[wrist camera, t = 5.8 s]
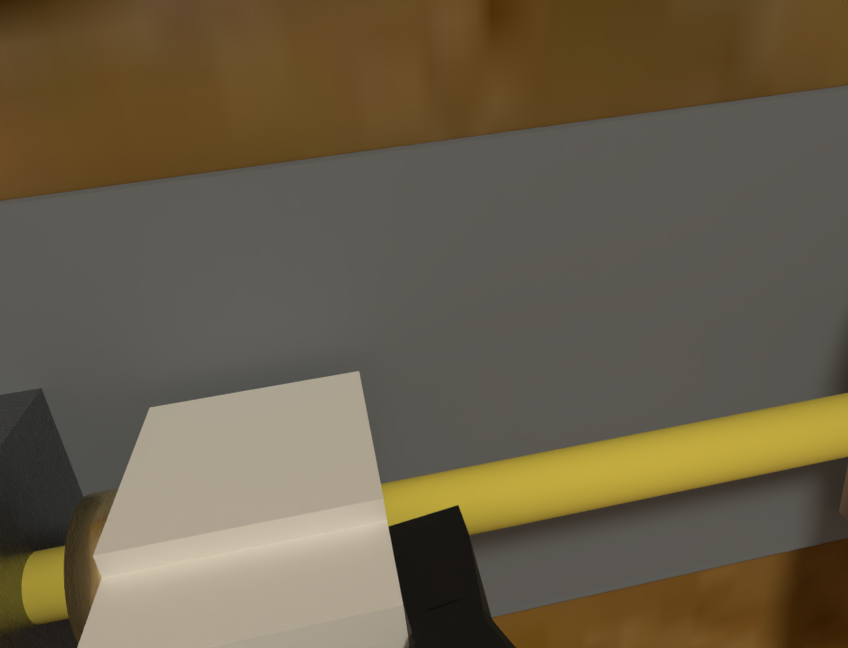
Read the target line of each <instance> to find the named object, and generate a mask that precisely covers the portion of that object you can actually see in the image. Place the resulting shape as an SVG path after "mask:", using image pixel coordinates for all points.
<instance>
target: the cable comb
mask: <svg viewBox="0 0 848 648" xmlns="http://www.w3.org/2000/svg"><path fill="white" fill-rule="evenodd" d="M839 513H840V514H841V515H842V516H843V517H845V518H846V519H847V520H848V466H847V472H846V477H845V482H844V487H843V493H842V498H841V503H840V508H839Z"/></svg>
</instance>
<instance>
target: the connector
mask: <svg viewBox="0 0 848 648" xmlns="http://www.w3.org/2000/svg"><path fill="white" fill-rule="evenodd" d="M118 489H119V488H116V489H111V490H106V491H100V492H95V493H90V494H88V495H86V496H84V497H83V494H82V491H81V489H80V486H79V484H78V481H77V479H76V476H75V473H74V471H73V468H72V466H71V463H70V460H69V458H68V455H67V453H66V450H65V448H64V445H63V442H62V440H61V437H60V435H59V432H58V430H57V427H56V424H55V422H54V419H53V417H52V414H51V412H50V409H49V406H48V404H47V401H46V399H45V396H44V394H43V391H42V388H39V389H33V390H27V391H21V392H15V393H9V394H3V395H0V648H77V647H78V644H79V641H80V638H81V636H82V633H83V630H84V627H85V624H86V621H87V619H88V616H89V613H90V610H91V607H92V604H93V601H94V599H95V596H96V593H97V590H98V587H99V584H100V581H101V579H102V578H101V575H100V572H99V570H98V567H97V565H96V562H95V560H94V557H93V554H94V552H95V549H96V546H97V544H98V541H99V539H100V536H101V533H102V531H103V528H104V526H105V523H106V520H107V518H108V515H109V512H110V510H111V507H112V505H113V502H114V499H115V497H116V494H117V492H118ZM59 546H65V552H64V590H65V599H66V606H67V612H68V616H69V618H68V619H64V620H59V621H54V622H49V623H44V624H39V625H38V624H34V623H33V622H32V621H31V620H30V619H29V618H28V616H27V614H26V611H25V608H24V605H23V600H22V576H23V571H24V567H25V564H26V562H27V560H28V558H29V557H30V555H31V554H32V553H33V552H35V551H39V550H44V549H49V548H54V547H59Z"/></svg>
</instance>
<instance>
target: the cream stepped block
mask: <svg viewBox="0 0 848 648" xmlns="http://www.w3.org/2000/svg"><path fill="white" fill-rule="evenodd" d="M93 557H94V560H95V562H96V565H97V567H98V570H99V572H100V575H101V578H102V579H101V581H100V584H99V587H98V590H97V593H96V596H95V599H94V601H93V604H92V607H91V610H90V613H89V616H88V619H87V621H86V624H85V627H84V630H83V633H82V636H81V638H80V641H79V644H78V647H77V648H409V638H408V632H407V626H406V619H405V613H404V607H403V601H402V596H401V591H400V585H399V580H398V575H397V570H396V564H395V559H394V554H393V549H392V543H391V538H390V533H389V528H388V522H387V517H386V510H385V504H384V498H383V493H382V488H381V482H380V477H379V472H378V467H377V462H376V456H375V451H374V446H373V441H372V436H371V430H370V425H369V420H368V415H367V409H366V404H365V399H364V394H363V389H362V383H361V378H360V373H359V371H356V372H350V373H344V374H339V375H333V376H327V377H322V378H316V379H310V380H304V381H299V382H293V383H287V384H281V385H276V386H270V387H264V388H259V389H253V390H247V391H241V392H236V393H230V394H224V395H218V396H213V397H207V398H201V399H196V400H190V401H184V402H178V403H173V404H167V405H161V406H156V407H150V408H149V411H148V413H147V416H146V418H145V421H144V424H143V426H142V429H141V431H140V434H139V437H138V439H137V442H136V445H135V447H134V450H133V452H132V455H131V458H130V460H129V463H128V465H127V468H126V471H125V473H124V476H123V478H122V481H121V484H120V486H119V489H118V492H117V494H116V497H115V499H114V502H113V505H112V507H111V510H110V512H109V515H108V518H107V520H106V523H105V526H104V528H103V531H102V533H101V536H100V539H99V541H98V544H97V546H96V549H95V552H94V554H93Z"/></svg>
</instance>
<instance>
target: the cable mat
mask: <svg viewBox="0 0 848 648" xmlns="http://www.w3.org/2000/svg"><path fill="white" fill-rule="evenodd" d="M356 371H359V373H360V378H361V383H362V389H363V394H364V399H365V404H366V409H367V415H368V420H369V425H370V430H371V436H372V441H373V446H374V451H375V456H376V462H377V467H378V472H379V477H380V482H381V484H382V483H387V482H392V481H398V480H403V479H408V478H413V477H418V476H423V475H428V474H433V473H439V472H444V471H449V470H454V469H459V468H464V467H469V466H474V465H480V464H485V463H490V462H495V461H500V460H505V459H510V458H515V457H521V456H526V455H531V454H536V453H541V452H546V451H551V450H556V449H562V448H567V447H572V446H577V445H582V444H587V443H592V442H597V441H603V440H608V439H613V438H618V437H623V436H628V435H633V434H638V433H644V432H649V431H654V430H659V429H664V428H669V427H674V426H679V425H685V424H690V423H695V422H700V421H705V420H710V419H715V418H720V417H726V416H731V415H736V414H741V413H746V412H751V411H756V410H761V409H767V408H772V407H777V406H782V405H787V404H792V403H797V402H802V401H808V400H813V399H818V398H823V397H828V396H833V395H838V394H843V393H848V86H840V87H833V88H826V89H818V90H811V91H804V92H796V93H789V94H782V95H774V96H767V97H760V98H752V99H745V100H738V101H730V102H723V103H716V104H708V105H701V106H694V107H686V108H679V109H672V110H664V111H657V112H650V113H642V114H635V115H628V116H620V117H613V118H606V119H598V120H591V121H584V122H576V123H569V124H562V125H554V126H547V127H540V128H532V129H525V130H518V131H510V132H503V133H496V134H488V135H481V136H474V137H466V138H459V139H452V140H444V141H437V142H430V143H422V144H415V145H408V146H400V147H393V148H386V149H378V150H371V151H364V152H356V153H349V154H342V155H334V156H327V157H320V158H312V159H305V160H298V161H290V162H283V163H276V164H268V165H261V166H254V167H246V168H239V169H232V170H224V171H217V172H210V173H202V174H195V175H188V176H180V177H173V178H166V179H158V180H151V181H143V182H136V183H129V184H121V185H114V186H107V187H99V188H92V189H85V190H77V191H70V192H63V193H55V194H48V195H41V196H33V197H26V198H19V199H11V200H4V201H0V395H3V394H9V393H15V392H21V391H27V390H33V389H39V388H42V391H43V394H44V396H45V399H46V401H47V404H48V406H49V409H50V412H51V414H52V417H53V419H54V422H55V424H56V427H57V430H58V432H59V435H60V437H61V440H62V442H63V445H64V448H65V450H66V453H67V455H68V458H69V460H70V463H71V466H72V468H73V471H74V473H75V476H76V479H77V481H78V484H79V486H80V489H81V491H82V494H83V497H84V496H86V495H88V494H90V493H95V492H100V491H106V490H111V489H116V488H119V486H120V484H121V481H122V478H123V476H124V473H125V471H126V468H127V465H128V463H129V460H130V458H131V455H132V452H133V450H134V447H135V445H136V442H137V439H138V437H139V434H140V431H141V429H142V426H143V424H144V421H145V418H146V416H147V413H148V411H149V408H150V407H156V406H161V405H167V404H173V403H178V402H184V401H190V400H196V399H201V398H207V397H213V396H218V395H224V394H230V393H236V392H241V391H247V390H253V389H259V388H264V387H270V386H276V385H281V384H287V383H293V382H299V381H304V380H310V379H316V378H322V377H327V376H333V375H339V374H344V373H350V372H356ZM847 466H848V457H844V458H840V459H835V460H830V461H825V462H820V463H816V464H811V465H806V466H801V467H796V468H791V469H787V470H782V471H777V472H772V473H767V474H762V475H758V476H753V477H748V478H743V479H738V480H734V481H729V482H724V483H719V484H714V485H709V486H705V487H700V488H695V489H690V490H685V491H681V492H676V493H671V494H666V495H661V496H656V497H652V498H647V499H642V500H637V501H632V502H628V503H623V504H618V505H613V506H608V507H603V508H599V509H594V510H589V511H584V512H579V513H574V514H570V515H565V516H560V517H555V518H550V519H546V520H541V521H536V522H531V523H526V524H521V525H517V526H512V527H507V528H502V529H497V530H493V531H488V532H483V533H478V534H473V535H469V536H470V540H471V543H472V547H473V551H474V554H475V558H476V562H477V565H478V569H479V573H480V577H481V580H482V584H483V588H484V591H485V595H486V599H487V602H488V606H489V610H490V613H491V617H496V616H500V615H505V614H509V613H514V612H518V611H523V610H527V609H531V608H536V607H540V606H545V605H549V604H554V603H558V602H563V601H567V600H572V599H576V598H581V597H585V596H590V595H594V594H599V593H603V592H608V591H612V590H617V589H621V588H626V587H630V586H635V585H639V584H644V583H648V582H653V581H657V580H662V579H666V578H670V577H675V576H679V575H684V574H688V573H693V572H697V571H702V570H706V569H711V568H715V567H720V566H724V565H729V564H733V563H738V562H742V561H747V560H751V559H756V558H760V557H765V556H769V555H774V554H778V553H783V552H787V551H792V550H796V549H801V548H805V547H810V546H814V545H818V544H823V543H827V542H832V541H836V540H841V539H845V538H848V520H847V519H846V518H845V517H843V516H842V515H841V514H840V513H839V508H840V503H841V498H842V493H843V487H844V482H845V477H846V472H847ZM402 601H403V600H402ZM403 607H404V603H403ZM404 613H405V619H406V626H407V632H408V636H410V635H411V633H412V631H411V627H410V624H409V620H408V617H407V614H406V610H405V607H404Z"/></svg>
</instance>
